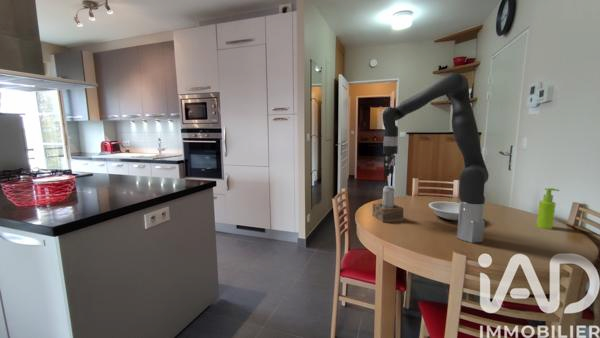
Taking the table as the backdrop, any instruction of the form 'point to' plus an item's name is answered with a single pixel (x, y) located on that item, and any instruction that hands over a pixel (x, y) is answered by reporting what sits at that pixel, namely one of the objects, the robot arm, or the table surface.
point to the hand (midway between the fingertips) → (389, 174)
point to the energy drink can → (388, 197)
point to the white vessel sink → (446, 209)
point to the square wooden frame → (387, 213)
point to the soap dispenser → (546, 210)
